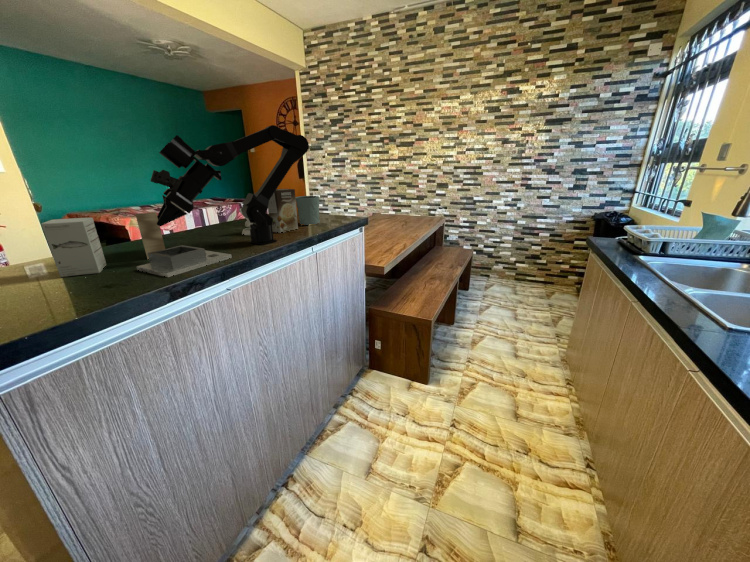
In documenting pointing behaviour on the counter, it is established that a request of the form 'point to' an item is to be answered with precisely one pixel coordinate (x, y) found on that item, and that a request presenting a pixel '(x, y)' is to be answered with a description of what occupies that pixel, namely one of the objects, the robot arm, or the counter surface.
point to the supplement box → (74, 246)
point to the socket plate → (180, 260)
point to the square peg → (150, 232)
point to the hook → (247, 224)
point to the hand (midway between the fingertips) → (157, 222)
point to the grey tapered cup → (308, 209)
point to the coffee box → (283, 210)
